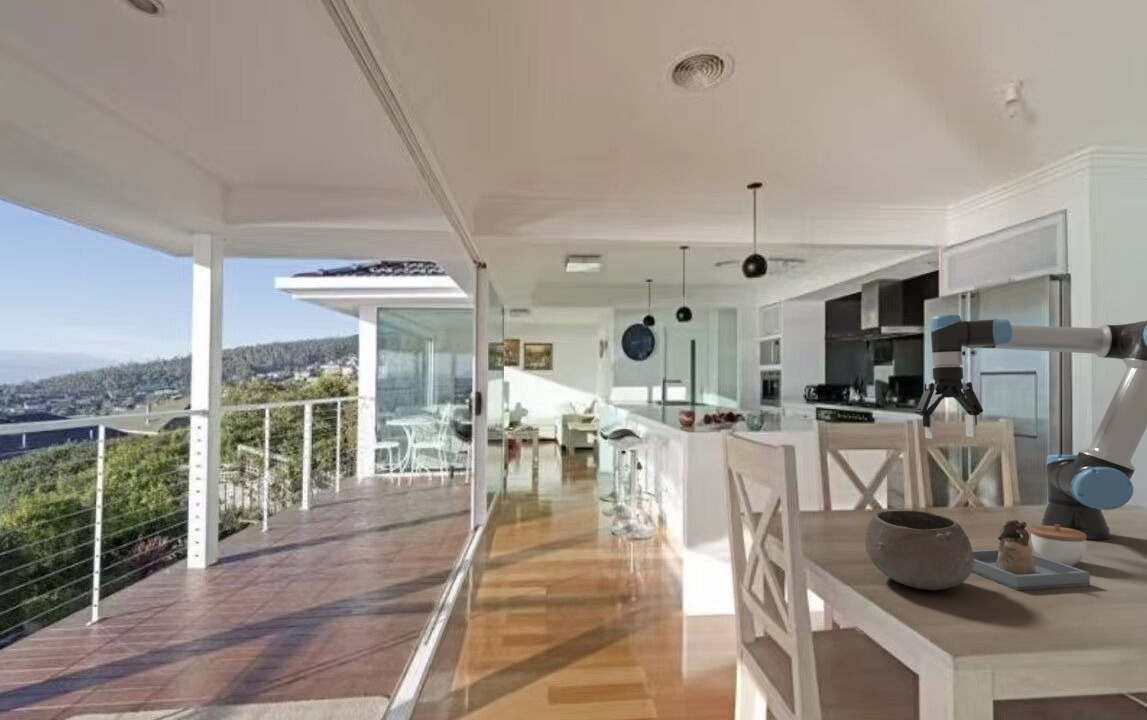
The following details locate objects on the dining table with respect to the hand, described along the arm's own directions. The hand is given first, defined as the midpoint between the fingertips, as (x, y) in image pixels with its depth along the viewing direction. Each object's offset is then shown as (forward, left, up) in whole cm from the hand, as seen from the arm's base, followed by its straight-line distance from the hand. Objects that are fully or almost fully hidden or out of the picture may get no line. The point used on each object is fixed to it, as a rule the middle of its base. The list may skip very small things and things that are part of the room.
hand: (950, 437), depth 167 cm
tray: (+13, +33, -28) cm, 45 cm away
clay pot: (+40, +35, -29) cm, 60 cm away
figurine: (+13, +33, -28) cm, 45 cm away
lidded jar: (-5, +27, -29) cm, 40 cm away
